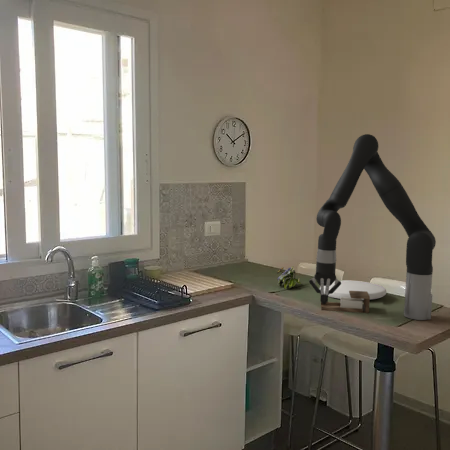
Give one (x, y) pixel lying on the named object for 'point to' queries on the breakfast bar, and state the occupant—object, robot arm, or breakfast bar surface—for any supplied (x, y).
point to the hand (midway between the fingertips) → (323, 303)
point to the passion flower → (288, 274)
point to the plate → (357, 289)
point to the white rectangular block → (351, 302)
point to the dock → (336, 307)
